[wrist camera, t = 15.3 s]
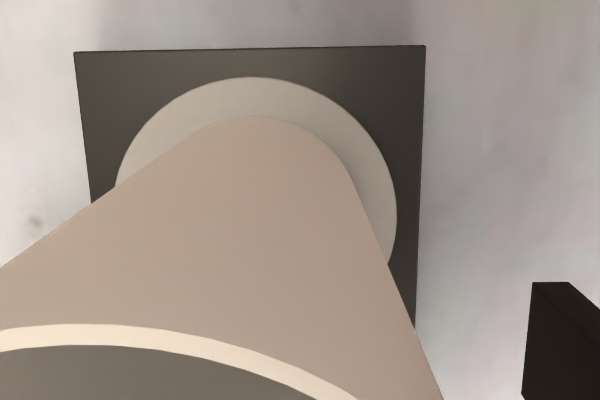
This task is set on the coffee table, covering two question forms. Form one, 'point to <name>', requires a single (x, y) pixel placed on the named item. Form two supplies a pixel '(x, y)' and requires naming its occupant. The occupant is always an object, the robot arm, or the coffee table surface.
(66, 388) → the cup
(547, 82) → the coffee table surface
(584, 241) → the coffee table surface
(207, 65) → the scale
